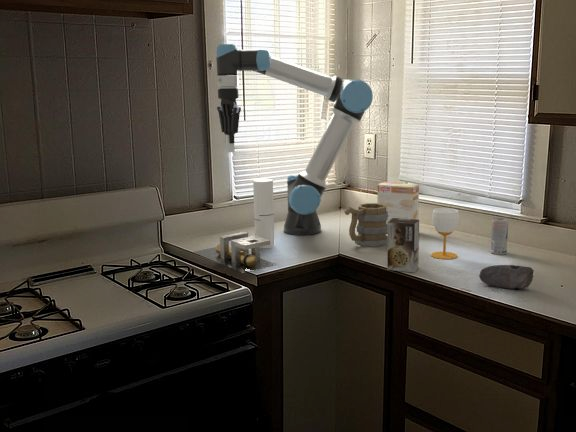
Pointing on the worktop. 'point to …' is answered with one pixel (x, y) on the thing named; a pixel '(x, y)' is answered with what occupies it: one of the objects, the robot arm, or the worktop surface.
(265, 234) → the cylindrical container
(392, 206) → the coffeecake box
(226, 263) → the hearth plate
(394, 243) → the grey cookie box
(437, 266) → the worktop surface
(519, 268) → the perforated stone tool
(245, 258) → the tan cylinder
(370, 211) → the tankard
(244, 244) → the white stool-shaped bracket
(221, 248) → the grey angled bracket piece
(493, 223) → the energy drink
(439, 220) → the cup
